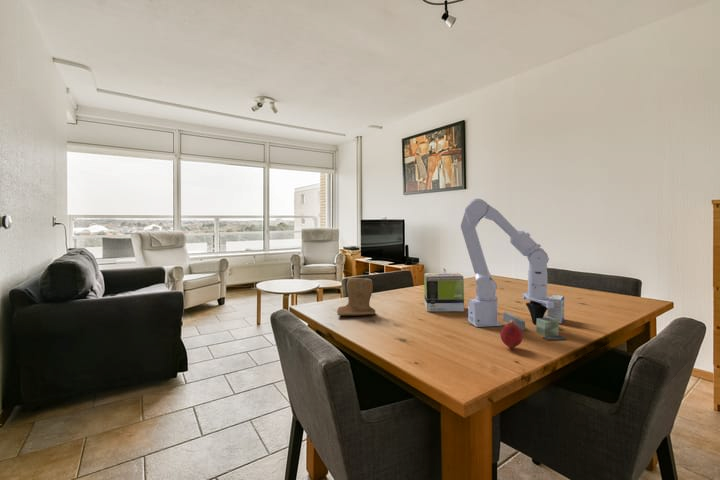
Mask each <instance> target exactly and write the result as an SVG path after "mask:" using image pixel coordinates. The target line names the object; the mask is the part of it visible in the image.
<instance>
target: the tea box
mask: <svg viewBox="0 0 720 480" xmlns="http://www.w3.org/2000/svg"><path fill="white" fill-rule="evenodd" d="M423 283H424V284H423V286H424V289H423V290H424V294H423V295H424V306H425V309H426V311H427V312H465V289H464V288H465V285H464V275H463V274H461V273H459V272H436V273H435V272H432V273H431V272H430V273H429V272H426V273H424V274H423Z"/></svg>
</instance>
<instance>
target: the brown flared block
mask: <svg viewBox="0 0 720 480" xmlns="http://www.w3.org/2000/svg"><path fill="white" fill-rule="evenodd" d="M373 285H374V283H373V280H372V279H371V278H362V277H348V278H347V281H346V293H347V299H348V303H347V304H346V305H342V306H339V307H338V308H337V312H336V313H337V316H340V317H341V316H343V317H351V316H355V317H357V316H368V315H375V314H376V309H375V308H373V307H371V306H370V300H371V297H372V295H373Z"/></svg>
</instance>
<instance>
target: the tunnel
mask: <svg viewBox="0 0 720 480" xmlns="http://www.w3.org/2000/svg"><path fill="white" fill-rule="evenodd" d="M502 315H503V316H502V317H503V319H502V320H503V321H504V322H505V323H507V324H509V322H510V321H511V320H512V321H514V324H515V325H516V326H518V327H519V328H520V330H521V331H526V322H525V320H523V319H522V318H520V317H517V316H515V315H513V314H511V313H509V312H507V311H504V312H503V313H502ZM543 318H551V317H549V316H547V315H546V314H544V317H543ZM551 319H553V320H556V319H554V318H551ZM556 321H557V320H556Z"/></svg>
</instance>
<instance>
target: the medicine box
mask: <svg viewBox="0 0 720 480" xmlns="http://www.w3.org/2000/svg"><path fill="white" fill-rule="evenodd" d="M549 297H550V300H551V301H552V302H554V308H548V309H547V311H546V312H547V313H546V314H547V316H549V317H551V318H554V319H556V320H557V321H558V322H559V325H562V323H563V322H564V320H565V296H564V295H558V294H557V295H556V294H552V295H550V296H549Z"/></svg>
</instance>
